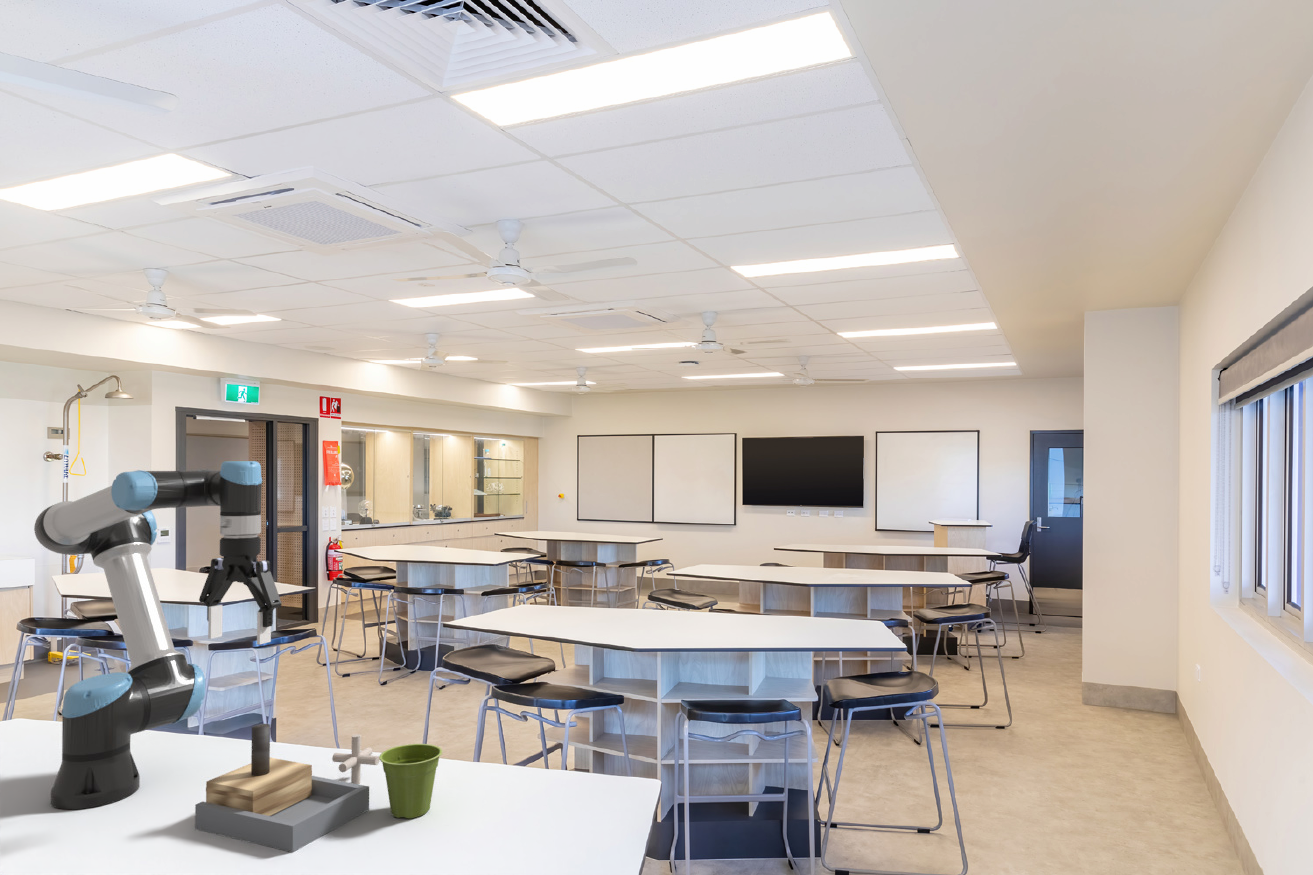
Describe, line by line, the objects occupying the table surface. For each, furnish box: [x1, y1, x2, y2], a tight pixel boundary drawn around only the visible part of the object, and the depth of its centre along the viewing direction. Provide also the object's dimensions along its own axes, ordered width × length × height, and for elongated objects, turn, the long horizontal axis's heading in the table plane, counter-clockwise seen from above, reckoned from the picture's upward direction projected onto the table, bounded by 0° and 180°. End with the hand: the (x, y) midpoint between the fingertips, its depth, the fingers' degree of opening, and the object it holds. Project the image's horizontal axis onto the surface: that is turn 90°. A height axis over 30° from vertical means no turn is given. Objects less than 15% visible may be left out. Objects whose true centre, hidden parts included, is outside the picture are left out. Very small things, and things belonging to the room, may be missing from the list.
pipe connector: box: [331, 733, 380, 785], centre depth 176 cm, size 10×10×10 cm
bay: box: [194, 775, 370, 853], centre depth 158 cm, size 24×19×4 cm
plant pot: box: [378, 743, 443, 819], centre depth 161 cm, size 12×12×11 cm
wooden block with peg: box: [205, 723, 313, 816], centre depth 160 cm, size 12×14×15 cm
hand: (239, 640), depth 169 cm, fingers open, 13 cm apart
